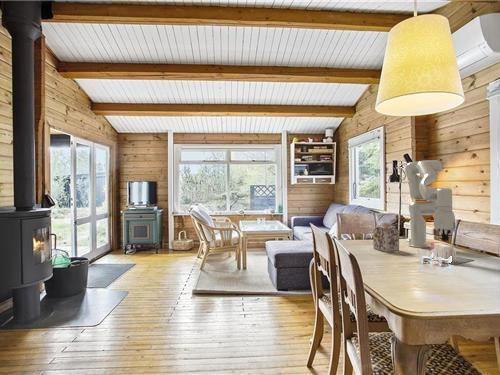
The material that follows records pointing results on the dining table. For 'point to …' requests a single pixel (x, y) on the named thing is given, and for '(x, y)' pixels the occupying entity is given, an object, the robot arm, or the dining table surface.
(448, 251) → the ink cartridge box
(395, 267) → the dining table surface
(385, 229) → the decorative jar
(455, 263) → the mat
